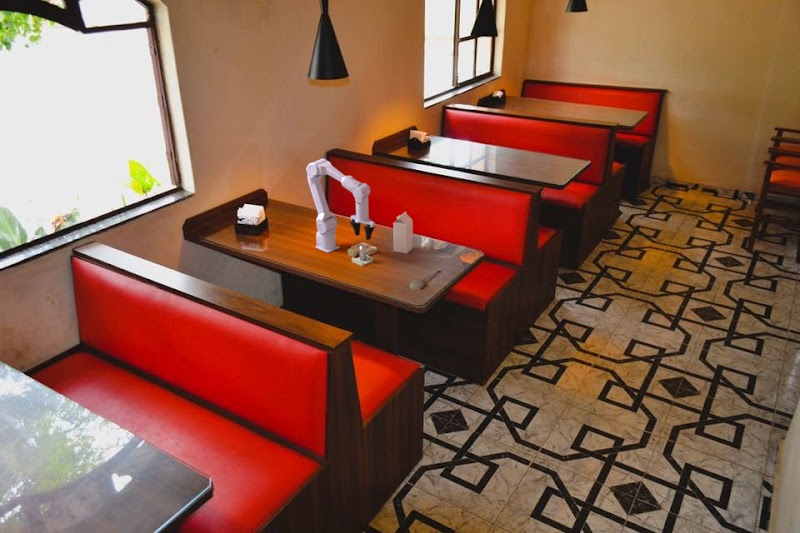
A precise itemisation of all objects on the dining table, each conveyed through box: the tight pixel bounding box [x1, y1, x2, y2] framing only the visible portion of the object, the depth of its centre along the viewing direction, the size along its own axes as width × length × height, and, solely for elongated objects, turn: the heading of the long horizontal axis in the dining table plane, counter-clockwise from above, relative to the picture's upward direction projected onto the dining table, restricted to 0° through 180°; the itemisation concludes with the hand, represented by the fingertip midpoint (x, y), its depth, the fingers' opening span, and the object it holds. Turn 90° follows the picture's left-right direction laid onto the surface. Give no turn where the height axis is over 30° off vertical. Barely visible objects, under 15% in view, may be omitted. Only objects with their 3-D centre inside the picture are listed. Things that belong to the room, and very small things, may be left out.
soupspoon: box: [409, 268, 442, 291], centre depth 279 cm, size 22×3×7 cm
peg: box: [358, 245, 366, 261], centre depth 295 cm, size 3×3×7 cm
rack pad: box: [351, 255, 374, 267], centre depth 296 cm, size 7×7×2 cm
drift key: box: [347, 247, 360, 258], centre depth 303 cm, size 4×6×3 cm, turn 136°
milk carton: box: [392, 211, 414, 254], centre depth 304 cm, size 7×7×19 cm
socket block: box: [350, 241, 378, 256], centre depth 307 cm, size 10×8×2 cm
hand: (363, 237), depth 297 cm, fingers open, 7 cm apart
